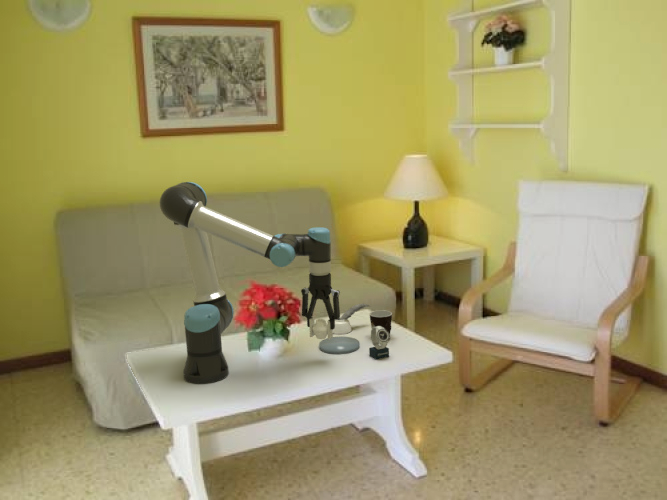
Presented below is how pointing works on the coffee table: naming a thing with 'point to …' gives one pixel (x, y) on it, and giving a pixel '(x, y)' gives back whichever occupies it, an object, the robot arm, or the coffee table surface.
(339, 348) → the plate
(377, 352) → the watch
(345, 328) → the inkwell
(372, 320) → the coffee mug
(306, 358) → the coffee table surface
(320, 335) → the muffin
